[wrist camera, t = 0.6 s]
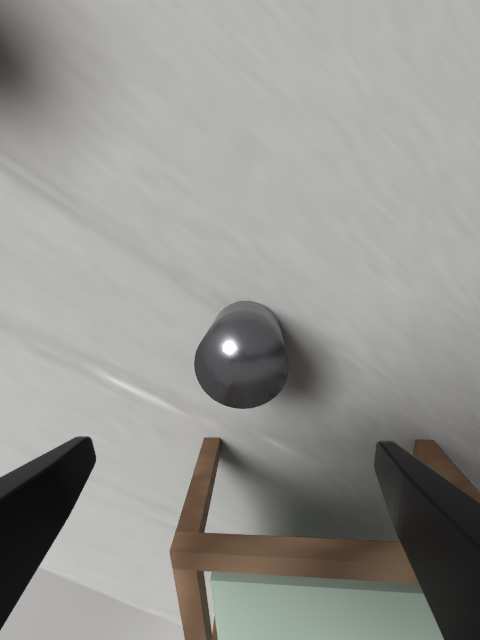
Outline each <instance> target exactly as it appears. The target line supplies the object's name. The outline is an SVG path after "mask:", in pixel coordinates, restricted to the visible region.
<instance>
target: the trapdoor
mask: <svg viewBox="0 0 480 640" xmlns="http://www.w3.org/2000/svg"><path fill="white" fill-rule="evenodd" d="M210 581H211V589H212V597H213V605H214V613H215V621H216V629H217V637H218V640H444V638H443V636H442V634H441V632H440V629H439V627H438V625H437V623H436V621H435V618H434V616H433V614H432V612H431V609H430V607H429V605H428V603H427V600H426V598H425V596H424V594H423V591H422V589H421V587H420V585H419V584H415V583H398V582H382V581H365V580H348V579H331V578H314V577H297V576H280V575H264V574H247V573H230V572H213V571H212V574H211V580H210Z"/></svg>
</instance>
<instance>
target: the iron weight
mask: <svg viewBox="0 0 480 640" xmlns="http://www.w3.org/2000/svg"><path fill="white" fill-rule="evenodd" d="M194 366H195V373H196V376H197V379H198V381H199V384H200V385H201V387H202V388H203V390H204V391H205V392H206V393H207V394H208V395H209V396H210V397H211V398H213V399H214V400H215V401H217V402H219V403H221V404H223V405H225V406H229V407H233V408H240V409H246V408H254V407H257V406H261V405H263V404H265V403H267V402H269V401H270V400H272V399H273V398H274V397H275V396H276V395H277V394H278V393H279V392H280V391H281V389H282V388H283V386H284V384H285V381H286V379H287V375H288V360H287V355H286V351H285V346H284V342H283V337H282V333H281V329H280V324H279V322H278V320H277V318H276V316H275V315H274V314H273V312H272V311H271V310H269V309H268V308H267V307H265V306H264V305H262V304H260V303H257V302H253V301H240V302H236V303H233V304H231V305H229V306H227V307H226V308H224V309H223V310H222V311H221V312H220V314H219V315H218V316H217V318H216V320H215V321H214V323H213V324H212V326H211V327H210V329H209V330H208V332H207V334H206V335H205V337H204V338H203V340H202V341H201V343H200V345H199V346H198V349H197V351H196V355H195V362H194Z"/></svg>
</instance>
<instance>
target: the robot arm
mask: <svg viewBox="0 0 480 640" xmlns="http://www.w3.org/2000/svg"><path fill="white" fill-rule="evenodd" d="M95 462H96V455H95V450H94V446H93V442H92V439H91V438H90V437H82V436H79V437H75V438H73V439H71V440H70V441H68V442H66V443H64V444H62V445H60V446H58V447H57V448H55V449H53V450H51V451H49V452H47V453H45V454H43V455H42V456H40V457H38V458H36V459H34V460H32V461H30V462H28V463H27V464H25V465H23V466H21V467H19V468H17V469H15V470H14V471H12V472H10V473H8V474H6V475H4V476H2V477H0V630H1V628H2V627H3V625H4V623H5V622H6V620H7V618H8V616H9V615H10V613H11V612H12V610H13V608H14V607H15V605H16V603H17V602H18V600H19V599H20V597H21V595H22V594H23V592H24V590H25V589H26V587H27V585H28V584H29V582H30V580H31V579H32V577H33V575H34V574H35V572H36V570H37V569H38V567H39V565H40V564H41V562H42V560H43V559H44V557H45V555H46V554H47V552H48V550H49V549H50V547H51V545H52V544H53V542H54V540H55V539H56V537H57V535H58V534H59V532H60V530H61V529H62V527H63V525H64V524H65V522H66V520H67V519H68V517H69V515H70V513H71V511H72V509H73V507H74V506H75V504H76V502H77V500H78V498H79V496H80V494H81V492H82V490H83V488H84V486H85V483H86V481H87V479H88V477H89V475H90V473H91V471H92V469H93V467H94V465H95ZM374 466H375V472H376V475H377V478H378V481H379V484H380V487H381V490H382V493H383V496H384V498H385V501H386V504H387V507H388V510H389V513H390V516H391V519H392V522H393V525H394V527H395V530H396V533H397V535H398V537H399V540H400V542H401V544H402V547H403V549H404V551H405V553H406V556H407V558H408V560H409V562H410V565H411V567H412V569H413V571H414V574H415V576H416V578H417V580H418V582H419V585H420V587H421V589H422V591H423V594H424V596H425V598H426V600H427V603H428V605H429V607H430V609H431V612H432V614H433V616H434V618H435V621H436V623H437V625H438V627H439V629H440V632H441V634H442V636H443V638H444V640H480V502H478V501H477V500H475V499H474V498H473V497H471V496H470V495H468V494H467V493H465V492H464V491H463V490H461V489H460V488H458V487H457V486H455V485H454V484H453V483H451V482H450V481H448V480H447V479H446V478H444V477H443V476H441V475H440V474H438V473H437V472H436V471H434V470H433V469H431V468H430V467H428V466H427V465H426V464H424V463H423V462H421V461H420V460H418V459H417V458H416V457H414V456H413V455H411V454H410V453H409V452H407V451H406V450H404V449H403V448H401V447H400V446H399V445H397V444H396V443H394V442H392V441H379V442H377V444H376V452H375V462H374Z"/></svg>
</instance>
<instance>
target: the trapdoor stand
mask: <svg viewBox="0 0 480 640" xmlns="http://www.w3.org/2000/svg"><path fill="white" fill-rule="evenodd" d="M220 452H221V448H220V438H204V440H203V444H202V447H201V450H200V453H199V457H198V460H197V463H196V467H195V470H194V473H193V476H192V480H191V483H190V486H189V490H188V493H187V496H186V499H185V503H184V506H183V509H182V513H181V516H180V519H179V522H178V526H177V529H176V532H175V536H174V539H173V542H172V545H171V549H170V556H171V562H172V568H173V574H174V579H175V585H176V591H177V596H178V602H179V608H180V613H181V619H182V625H183V630H184V636H185V640H218V637H217V629H216V621H215V617H214V625H213V633H212V632H211V624H210V617H209V609H208V601H207V594H206V586H205V579H204V571H213V572H230V573H247V574H264V575H280V576H297V577H314V578H331V579H348V580H365V581H382V582H398V583H415V584H419V582H418V580H417V578H416V576H415V574H414V571H413V569H412V567H411V565H410V562H409V560H408V558H407V556H406V553H405V551H404V549H403V547H402V544H401V542H395V541H373V540H351V539H329V538H307V537H285V536H263V535H241V534H219V533H204V531H205V526H206V521H207V516H208V511H209V506H210V501H211V496H212V491H213V487H214V482H215V477H216V472H217V467H218V462H219V457H220ZM413 454H414V455H415V457H416V458H417V459H418V460H420V461H421V462H423V463H424V464H426V465H427V466H428V467H430V468H431V469H433V470H434V471H436V472H437V473H438V474H440V475H441V476H443V477H444V478H446V479H447V480H448V481H450V482H451V483H453V484H454V485H455V486H457V487H458V488H460V489H461V490H463V491H464V492H465V493H467V494H468V495H470V496H471V497H473V498H474V499H475V500H477V501H478V502H480V493H479V491H478V490H477V489H476V488H475V487H474V486H473V485H472V484H471V482H470V481H469V480H468V479H467V478H466V477H465V476H464V474H463V473H462V472H461V471H460V470H459V469H458V468H457V467H456V465H455V464H454V463H453V462H452V461H451V460H450V459H449V458H448V456H447V455H446V454H445V453H444V452H443V451H442V450H441V448H440V447H439V446H438V445H437V444H436V443H435V442H434V441H433V440H415V446H414V452H413Z"/></svg>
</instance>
